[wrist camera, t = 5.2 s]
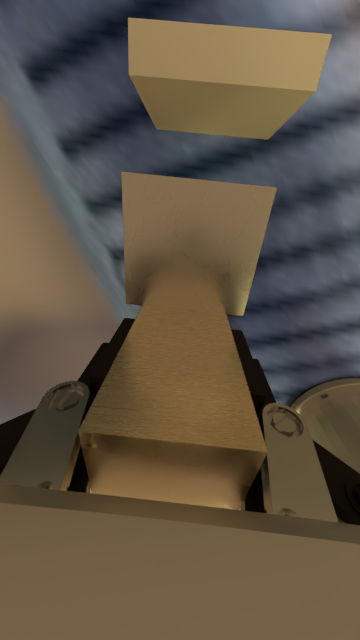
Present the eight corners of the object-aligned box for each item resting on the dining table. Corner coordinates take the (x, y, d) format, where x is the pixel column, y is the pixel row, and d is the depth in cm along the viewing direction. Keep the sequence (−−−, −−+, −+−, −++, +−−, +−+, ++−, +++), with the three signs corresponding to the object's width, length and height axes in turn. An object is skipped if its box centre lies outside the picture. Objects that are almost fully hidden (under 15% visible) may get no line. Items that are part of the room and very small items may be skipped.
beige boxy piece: (225, 371, 12) (256, 532, 6) (130, 361, 13) (70, 511, 6) (271, 188, 8) (518, 134, 2) (126, 173, 8) (-85, 74, 2)
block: (267, 140, 15) (315, 91, 9) (156, 129, 15) (128, 74, 9) (274, 106, 14) (334, 27, 8) (157, 95, 14) (127, 10, 8)
